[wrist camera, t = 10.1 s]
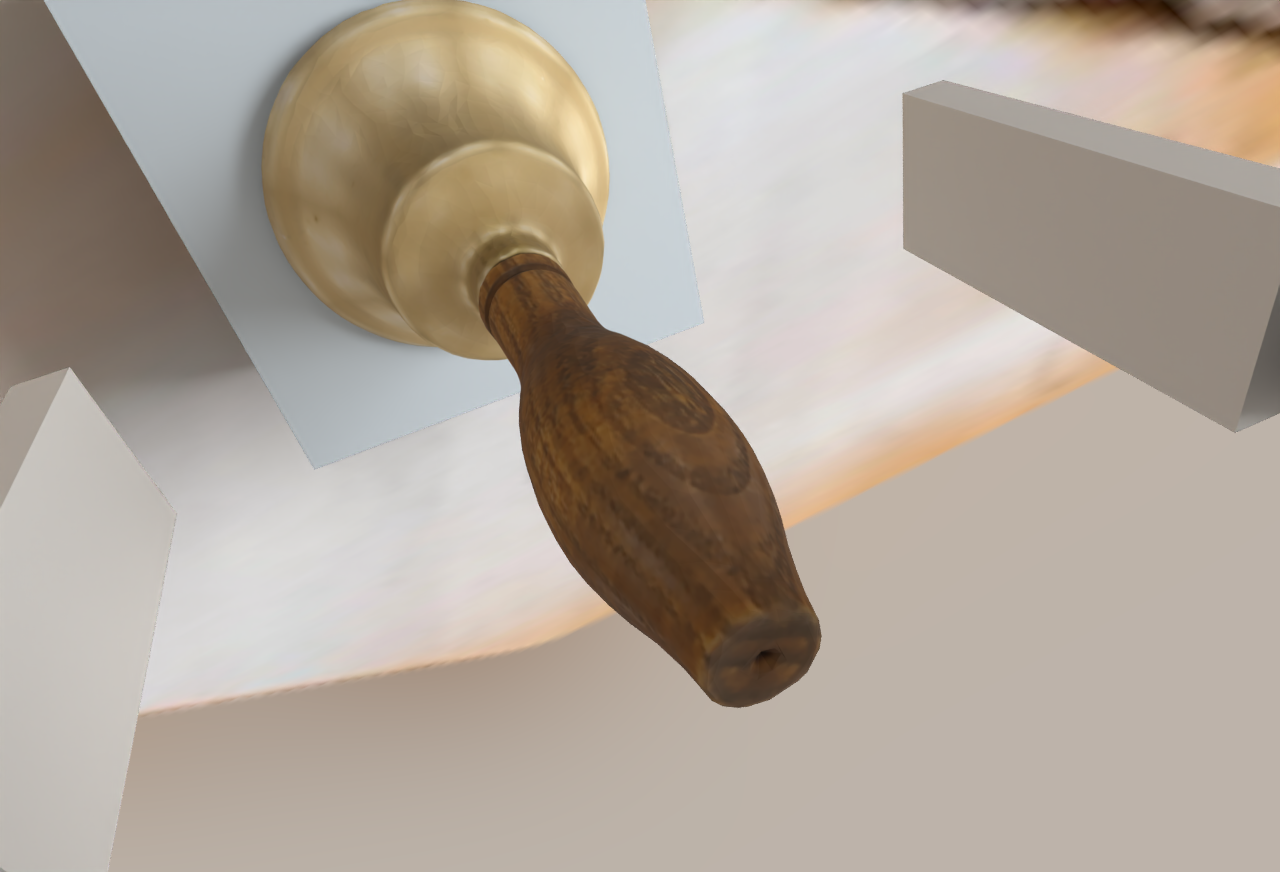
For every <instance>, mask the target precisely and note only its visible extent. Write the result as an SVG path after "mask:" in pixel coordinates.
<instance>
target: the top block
mask: <svg viewBox="0 0 1280 872" xmlns="http://www.w3.org/2000/svg"><path fill="white" fill-rule="evenodd" d="M395 1H401V0H44V2H45V4H46V5H47V7H48V9H49V11H50V12H51V14H52V16H53V17H54V19H55V21H56V23H57V24H58V26H59V28H60V30H61V31H62V33H63V35H64V37H65V38H66V40H67V42H68V43H69V45H70V47H71V49H72V50H73V52H74V54H75V56H76V57H77V59H78V61H79V63H80V64H81V66H82V68H83V69H84V71H85V73H86V75H87V76H88V78H89V80H90V82H91V83H92V85H93V87H94V89H95V90H96V92H97V94H98V95H99V97H100V99H101V101H102V102H103V104H104V106H105V108H106V109H107V111H108V113H109V115H110V116H111V118H112V120H113V121H114V123H115V125H116V127H117V128H118V130H119V132H120V134H121V135H122V137H123V139H124V141H125V142H126V144H127V146H128V147H129V149H130V151H131V153H132V154H133V156H134V158H135V160H136V161H137V163H138V165H139V167H140V168H141V170H142V172H143V173H144V175H145V177H146V179H147V180H148V182H149V184H150V186H151V187H152V189H153V191H154V193H155V194H156V196H157V198H158V199H159V201H160V203H161V205H162V206H163V208H164V210H165V212H166V213H167V215H168V217H169V219H170V220H171V222H172V224H173V225H174V227H175V229H176V231H177V232H178V234H179V236H180V238H181V239H182V241H183V243H184V245H185V246H186V248H187V250H188V251H189V253H190V255H191V257H192V258H193V260H194V262H195V264H196V265H197V267H198V269H199V271H200V272H201V274H202V276H203V277H204V279H205V281H206V283H207V284H208V286H209V288H210V290H211V291H212V293H213V295H214V297H215V298H216V300H217V302H218V303H219V305H220V307H221V309H222V310H223V312H224V314H225V316H226V317H227V319H228V321H229V323H230V324H231V326H232V328H233V329H234V331H235V333H236V335H237V336H238V338H239V340H240V342H241V343H242V345H243V347H244V349H245V350H246V352H247V354H248V355H249V357H250V359H251V361H252V362H253V364H254V366H255V368H256V369H257V371H258V373H259V375H260V376H261V378H262V380H263V381H264V383H265V385H266V387H267V388H268V390H269V392H270V394H271V395H272V397H273V399H274V401H275V402H276V404H277V406H278V407H279V409H280V411H281V413H282V414H283V416H284V418H285V420H286V421H287V423H288V425H289V427H290V428H291V430H292V432H293V433H294V435H295V437H296V439H297V440H298V442H299V444H300V446H301V447H302V449H303V451H304V453H305V454H306V456H307V458H308V459H309V461H310V463H311V465H312V466H313V468H314V470H315V469H318V468H320V467H323V466H326V465H328V464H331V463H334V462H336V461H339V460H341V459H344V458H347V457H349V456H352V455H355V454H357V453H360V452H363V451H365V450H368V449H371V448H373V447H376V446H379V445H381V444H384V443H387V442H389V441H392V440H395V439H397V438H400V437H403V436H405V435H408V434H411V433H413V432H416V431H419V430H421V429H424V428H427V427H429V426H432V425H435V424H437V423H440V422H442V421H445V420H448V419H450V418H453V417H456V416H458V415H461V414H464V413H466V412H469V411H472V410H474V409H477V408H480V407H482V406H485V405H488V404H490V403H493V402H496V401H498V400H501V399H504V398H506V397H509V396H512V395H514V394H517V393H520V392H521V385H520V381H519V378H518V375H517V373H516V371H515V369H514V368H513V366H512V365H511V363H510V362H509V360H508V359H505V360H476V359H468V358H463V357H460V356H456V355H453V354H451V353H448V352H446V351H444V350H442V349H440V348H438V347H426V346H416V345H410V344H405V343H400V342H396V341H393V340H389V339H386V338H383V337H380V336H378V335H375V334H373V333H370V332H368V331H366V330H364V329H362V328H360V327H358V326H356V325H354V324H352V323H350V322H349V321H347V320H345V319H344V318H342V317H341V316H339V315H338V314H336V313H335V312H334V311H332V310H331V309H330V308H328V307H327V306H326V305H325V304H324V303H323V302H322V301H320V300H319V299H318V298H317V297H316V296H315V295H314V294H313V293H312V292H311V290H310V289H309V288H308V287H307V286H306V285H305V284H304V282H303V281H302V280H301V279H300V277H299V276H298V275H297V274H296V272H295V271H294V269H293V268H292V266H291V265H290V263H289V262H288V260H287V259H286V257H285V255H284V253H283V252H282V250H281V248H280V246H279V244H278V242H277V240H276V237H275V234H274V232H273V229H272V226H271V224H270V221H269V218H268V215H267V211H266V207H265V201H264V194H263V186H262V170H261V163H262V149H263V141H264V135H265V130H266V126H267V122H268V118H269V115H270V112H271V110H272V107H273V104H274V101H275V99H276V97H277V95H278V93H279V90H280V88H281V86H282V84H283V82H284V81H285V79H286V77H287V75H288V74H289V72H290V71H291V69H292V68H293V67H294V65H295V64H296V63H297V62H298V61H299V60H300V59H301V57H302V56H303V55H304V54H305V53H306V52H307V51H308V50H309V49H310V48H311V47H312V46H313V45H314V44H315V43H316V42H317V41H318V40H319V39H320V38H321V37H322V36H323V35H325V34H326V33H327V32H329V31H330V30H331V29H333V28H334V27H336V26H337V25H338V24H340V23H341V22H343V21H345V20H347V19H349V18H351V17H353V16H354V15H356V14H358V13H360V12H362V11H366V10H369V9H372V8H375V7H378V6H380V5H382V4H385V3H390V2H395ZM462 1H467V2H471V3H475V4H479V5H483V6H486V7H489V8H492V9H495V10H498V11H500V12H502V13H504V14H506V15H508V16H510V17H512V18H514V19H516V20H517V21H519V22H521V23H522V24H524V25H526V26H528V27H529V28H531V29H532V30H533V31H534V32H536V33H537V34H538V35H540V36H541V37H542V38H544V39H545V40H546V41H547V42H548V43H550V44H551V45H552V46H553V47H554V48H555V49H556V50H557V51H558V52H559V53H560V54H561V56H562V57H563V58H564V59H565V60H566V61H567V63H568V64H569V65H570V66H571V67H572V68H573V70H574V71H575V72H576V74H577V75H578V77H579V79H580V80H581V82H582V83H583V85H584V86H585V88H586V90H587V92H588V93H589V95H590V97H591V99H592V101H593V103H594V105H595V108H596V110H597V112H598V115H599V118H600V121H601V125H602V128H603V132H604V136H605V140H606V145H607V151H608V157H609V173H610V182H609V197H608V203H607V209H606V214H605V218H604V223H603V235H604V242H605V243H604V257H603V266H602V271H601V276H600V279H599V282H598V285H597V287H596V290H595V292H594V295H593V297H592V299H591V300H590V302H589V304H588V307H589V309H590V310H591V312H592V313H593V315H594V316H595V318H596V319H597V321H598V322H599V323H600V324H601V325H602V326H603V327H604V328H606V329H608V330H610V331H614V332H617V333H620V334H623V335H625V336H627V337H630V338H632V339H634V340H636V341H639V342H641V343H643V344H646V345H647V344H650V343H652V342H655V341H658V340H660V339H663V338H666V337H668V336H671V335H674V334H676V333H679V332H682V331H684V330H687V329H690V328H692V327H695V326H698V325H700V324H703V323H704V318H703V313H702V307H701V302H700V296H699V291H698V285H697V280H696V274H695V269H694V263H693V258H692V252H691V247H690V242H689V236H688V231H687V225H686V220H685V214H684V209H683V203H682V198H681V192H680V187H679V181H678V176H677V170H676V165H675V160H674V154H673V149H672V143H671V138H670V132H669V127H668V121H667V116H666V110H665V105H664V99H663V94H662V88H661V83H660V77H659V72H658V67H657V61H656V56H655V50H654V45H653V39H652V34H651V28H650V23H649V17H648V12H647V6H646V1H645V0H462Z"/></svg>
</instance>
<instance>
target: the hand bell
mask: <svg viewBox="0 0 1280 872" xmlns="http://www.w3.org/2000/svg"><path fill="white" fill-rule="evenodd" d="M261 170H262V186H263V194H264V201H265V207H266V211H267V215H268V218H269V221H270V224H271V226H272V229H273V232H274V234H275V237H276V240H277V242H278V244H279V246H280V248H281V250H282V252H283V253H284V255H285V257H286V259H287V260H288V262H289V263H290V265H291V266H292V268H293V269H294V271H295V272H296V274H297V275H298V276H299V277H300V279H301V280H302V281H303V282H304V284H305V285H306V286H307V287H308V288H309V289H310V290H311V292H312V293H313V294H314V295H315V296H316V297H317V298H318V299H319V300H320V301H322V302H323V303H324V304H325V305H326V306H327V307H328V308H330V309H331V310H332V311H334V312H335V313H336V314H338V315H339V316H341V317H342V318H344V319H345V320H347V321H349V322H350V323H352V324H354V325H356V326H358V327H360V328H362V329H364V330H366V331H368V332H370V333H373V334H375V335H378V336H380V337H383V338H386V339H389V340H393V341H396V342H400V343H405V344H410V345H416V346H426V347H438V348H440V349H442V350H444V351H446V352H448V353H451V354H453V355H456V356H460V357H463V358H468V359H476V360H505V359H508V360H509V362H510V363H511V365H512V366H513V368H514V369H515V371H516V373H517V375H518V378H519V381H520V385H521V392H520V406H519V427H520V436H521V444H522V451H523V455H524V459H525V463H526V467H527V470H528V473H529V476H530V480H531V483H532V486H533V489H534V492H535V495H536V498H537V501H538V504H539V506H540V508H541V511H542V513H543V515H544V517H545V519H546V521H547V523H548V525H549V527H550V529H551V531H552V533H553V535H554V537H555V539H556V541H557V542H558V544H559V545H560V547H561V549H562V550H563V552H564V554H565V555H566V557H567V558H568V560H569V562H570V563H571V564H572V566H573V567H574V568H575V569H576V570H577V572H578V573H579V574H580V575H581V577H582V578H583V579H584V580H585V581H586V583H587V584H588V585H589V586H590V587H591V588H592V589H593V590H594V591H595V592H596V593H597V594H598V595H599V596H600V597H601V598H602V599H603V600H604V601H605V602H606V603H607V604H608V605H609V606H610V607H612V608H613V609H614V610H615V611H616V612H617V613H619V614H620V615H621V616H622V617H623V618H624V619H626V620H627V621H628V622H629V623H630V624H631V625H633V626H634V627H635V628H637V629H638V630H640V631H641V632H642V633H644V634H645V635H646V636H648V637H649V638H650V639H652V640H653V641H654V642H656V643H657V644H658V645H659V646H661V648H663V649H664V650H665V651H666V652H667V653H668V654H669V655H670V656H671V657H672V658H673V659H674V660H675V661H677V662H678V663H679V664H680V665H681V666H682V667H683V668H684V669H685V670H686V671H687V673H688V674H689V675H690V676H691V677H692V678H693V679H694V681H695V682H696V683H697V684H698V685H699V686H700V687H701V689H702V690H703V691H704V692H705V693H706V695H707V696H708V697H709V698H710V699H711V700H712V701H714V702H716V703H718V704H720V705H722V706H726V707H737V708H740V707H748V706H751V705H754V704H758V703H761V702H764V701H767V700H770V699H772V698H773V697H775V696H776V695H778V694H779V693H781V692H782V691H783V690H785V689H787V688H788V687H790V686H791V685H793V684H794V683H796V682H797V681H798V680H799V679H800V678H801V677H802V676H804V674H806V673H807V671H808V670H809V668H810V666H811V664H812V662H813V660H814V658H815V656H816V654H817V652H818V650H819V648H820V642H821V630H820V624H819V620H818V617H817V616H816V614H815V611H814V609H813V607H812V605H811V603H810V602H809V599H808V597H807V596H806V593H805V591H804V588H803V586H802V583H801V581H800V578H799V575H798V573H797V570H796V567H795V564H794V561H793V558H792V555H791V552H790V549H789V547H788V543H787V539H786V535H785V531H784V527H783V523H782V519H781V515H780V512H779V509H778V506H777V503H776V500H775V497H774V495H773V492H772V490H771V487H770V485H769V483H768V480H767V478H766V475H765V473H764V471H763V469H762V467H761V465H760V463H759V461H758V459H757V457H756V455H755V453H754V451H753V449H752V448H751V446H750V444H749V443H748V441H747V439H746V438H745V436H744V435H743V433H742V432H741V431H740V429H739V428H738V426H737V425H736V424H735V423H734V421H733V420H732V419H731V418H730V416H729V415H728V414H727V412H726V411H725V410H724V409H723V408H722V407H721V406H720V405H719V404H718V403H717V402H716V401H715V400H714V398H713V397H712V396H711V395H710V394H709V393H708V392H707V391H706V390H705V389H704V388H703V387H702V386H701V385H700V384H699V383H698V382H697V381H696V380H695V379H694V378H693V377H692V376H691V375H689V374H688V373H687V372H686V371H685V370H684V369H682V368H681V367H680V366H678V365H677V364H676V363H674V362H673V361H672V360H670V359H669V358H668V357H666V356H664V355H663V354H661V353H659V352H658V351H656V350H654V349H653V348H651V347H649V346H648V345H646V344H643V343H641V342H639V341H636V340H634V339H632V338H630V337H627V336H625V335H623V334H620V333H617V332H614V331H610V330H608V329H606V328H604V327H603V326H602V325H601V324H600V323H599V322H598V321H597V319H596V318H595V316H594V315H593V313H592V312H591V310H590V309H589V307H588V304H589V302H590V300H591V299H592V297H593V295H594V292H595V290H596V287H597V285H598V282H599V279H600V276H601V271H602V266H603V257H604V243H605V242H604V235H603V223H604V218H605V214H606V209H607V203H608V197H609V182H610V173H609V157H608V151H607V145H606V140H605V136H604V132H603V128H602V125H601V121H600V118H599V115H598V112H597V110H596V108H595V105H594V103H593V101H592V99H591V97H590V95H589V93H588V92H587V90H586V88H585V86H584V85H583V83H582V82H581V80H580V79H579V77H578V75H577V74H576V72H575V71H574V70H573V68H572V67H571V66H570V65H569V64H568V63H567V61H566V60H565V59H564V58H563V57H562V56H561V54H560V53H559V52H558V51H557V50H556V49H555V48H554V47H553V46H552V45H551V44H550V43H548V42H547V41H546V40H545V39H544V38H542V37H541V36H540V35H538V34H537V33H536V32H534V31H533V30H532V29H531V28H529V27H528V26H526V25H524V24H522V23H521V22H519V21H517V20H516V19H514V18H512V17H510V16H508V15H506V14H504V13H502V12H500V11H498V10H495V9H492V8H489V7H486V6H483V5H479V4H475V3H471V2H467V1H462V0H401V1H395V2H390V3H385V4H382V5H380V6H378V7H375V8H372V9H369V10H366V11H362V12H360V13H358V14H356V15H354V16H353V17H351V18H349V19H347V20H345V21H343V22H341V23H340V24H338V25H337V26H336V27H334V28H333V29H331V30H330V31H329V32H327V33H326V34H325V35H323V36H322V37H321V38H320V39H319V40H318V41H317V42H316V43H315V44H314V45H313V46H312V47H311V48H310V49H309V50H308V51H307V52H306V53H305V54H304V55H303V56H302V57H301V59H300V60H299V61H298V62H297V63H296V64H295V65H294V67H293V68H292V69H291V71H290V72H289V74H288V75H287V77H286V79H285V81H284V82H283V84H282V86H281V88H280V90H279V93H278V95H277V97H276V99H275V101H274V104H273V107H272V110H271V112H270V115H269V118H268V122H267V126H266V130H265V135H264V141H263V149H262V163H261Z"/></svg>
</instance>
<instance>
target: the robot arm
mask: <svg viewBox="0 0 1280 872" xmlns="http://www.w3.org/2000/svg"><path fill="white" fill-rule="evenodd" d="M903 248H904V249H905V250H907V251H909V252H910V253H912V254H914V255H916V256H918V257H919V258H921V259H923V260H925V261H927V262H928V263H930V264H932V265H934V266H936V267H937V268H939V269H941V270H943V271H945V272H946V273H948V274H950V275H952V276H954V277H955V278H957V279H959V280H961V281H963V282H964V283H966V284H968V285H970V286H972V287H973V288H975V289H977V290H979V291H981V292H982V293H984V294H986V295H988V296H990V297H991V298H993V299H995V300H997V301H999V302H1000V303H1002V304H1004V305H1006V306H1008V307H1009V308H1011V309H1013V310H1015V311H1017V312H1018V313H1020V314H1022V315H1024V316H1026V317H1027V318H1029V319H1031V320H1033V321H1035V322H1036V323H1038V324H1040V325H1042V326H1044V327H1045V328H1047V329H1049V330H1051V331H1053V332H1054V333H1056V334H1058V335H1060V336H1062V337H1063V338H1065V339H1067V340H1069V341H1071V342H1072V343H1074V344H1076V345H1078V346H1080V347H1081V348H1083V349H1085V350H1087V351H1089V352H1090V353H1092V354H1094V355H1096V356H1098V357H1099V358H1101V359H1103V360H1105V361H1107V362H1108V363H1110V364H1112V365H1114V366H1116V367H1117V368H1119V369H1121V370H1123V371H1125V372H1126V373H1128V374H1130V375H1132V376H1134V377H1136V378H1137V379H1139V380H1141V381H1143V382H1144V383H1146V384H1148V385H1150V386H1152V387H1153V388H1155V389H1157V390H1159V391H1161V392H1162V393H1164V394H1166V395H1168V396H1170V397H1172V398H1173V399H1175V400H1177V401H1179V402H1180V403H1182V404H1184V405H1186V406H1188V407H1189V408H1191V409H1193V410H1195V411H1197V412H1198V413H1200V414H1202V415H1204V416H1206V417H1207V418H1209V419H1211V420H1213V421H1215V422H1217V423H1218V424H1220V425H1222V426H1224V427H1225V428H1227V429H1229V430H1231V431H1233V432H1234V433H1236V432H1238V431H1241V430H1243V429H1245V428H1247V427H1250V426H1252V425H1254V424H1256V423H1259V422H1261V421H1263V420H1266V419H1268V418H1270V417H1272V416H1275V415H1277V414H1279V413H1280V168H1276V167H1272V166H1268V165H1264V164H1261V163H1257V162H1253V161H1249V160H1245V159H1242V158H1238V157H1234V156H1230V155H1226V154H1222V153H1219V152H1215V151H1211V150H1207V149H1203V148H1200V147H1196V146H1192V145H1188V144H1184V143H1181V142H1177V141H1173V140H1169V139H1165V138H1162V137H1158V136H1154V135H1150V134H1146V133H1142V132H1139V131H1135V130H1131V129H1127V128H1123V127H1120V126H1116V125H1112V124H1108V123H1104V122H1101V121H1097V120H1093V119H1089V118H1085V117H1081V116H1078V115H1074V114H1070V113H1066V112H1062V111H1059V110H1055V109H1051V108H1047V107H1043V106H1040V105H1036V104H1032V103H1028V102H1024V101H1021V100H1017V99H1013V98H1009V97H1005V96H1001V95H998V94H994V93H990V92H986V91H982V90H979V89H975V88H971V87H967V86H963V85H960V84H956V83H952V82H948V81H944V80H942V81H939V82H936V83H933V84H930V85H927V86H924V87H921V88H918V89H915V90H912V91H908V92H905V93H903ZM176 516H177V513H176V512H175V510H174V509H173V507H172V506H171V505H170V503H169V502H168V501H167V499H166V498H165V497H164V495H163V494H162V492H161V491H160V490H159V488H158V487H157V486H156V484H155V483H154V482H153V480H152V479H151V477H150V476H149V475H148V473H147V472H146V471H145V469H144V468H143V466H142V465H141V464H140V462H139V461H138V460H137V458H136V457H135V456H134V454H133V453H132V451H131V450H130V449H129V447H128V446H127V445H126V443H125V442H124V441H123V439H122V438H121V436H120V435H119V434H118V432H117V431H116V430H115V428H114V427H113V425H112V424H111V423H110V421H109V420H108V419H107V417H106V416H105V415H104V413H103V412H102V410H101V409H100V408H99V406H98V405H97V404H96V402H95V401H94V400H93V398H92V397H91V395H90V394H89V393H88V391H87V390H86V389H85V387H84V386H83V385H82V383H81V382H80V380H79V379H78V378H77V376H76V375H75V374H74V372H73V371H72V369H71V368H70V367H68V368H65V369H62V370H59V371H56V372H53V373H50V374H47V375H44V376H41V377H38V378H35V379H32V380H29V381H26V382H22V383H19V384H16V385H13V386H11V387H10V389H9V391H8V392H7V394H6V396H5V397H4V399H3V401H2V402H1V404H0V872H108V869H109V863H110V858H111V853H112V848H113V842H114V837H115V832H116V827H117V822H118V817H119V811H120V806H121V801H122V796H123V790H124V785H125V780H126V775H127V769H128V764H129V760H130V754H131V749H132V744H133V739H134V734H135V728H136V723H137V718H138V713H139V708H140V702H141V697H142V692H143V687H144V682H145V677H146V671H147V666H148V661H149V656H150V651H151V645H152V640H153V635H154V630H155V625H156V619H157V614H158V609H159V604H160V599H161V594H162V588H163V583H164V578H165V573H166V568H167V562H168V557H169V552H170V547H171V542H172V536H173V531H174V526H175V521H176Z"/></svg>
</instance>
